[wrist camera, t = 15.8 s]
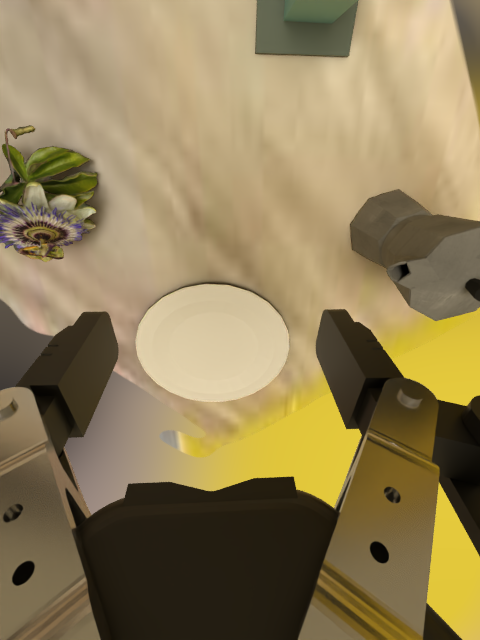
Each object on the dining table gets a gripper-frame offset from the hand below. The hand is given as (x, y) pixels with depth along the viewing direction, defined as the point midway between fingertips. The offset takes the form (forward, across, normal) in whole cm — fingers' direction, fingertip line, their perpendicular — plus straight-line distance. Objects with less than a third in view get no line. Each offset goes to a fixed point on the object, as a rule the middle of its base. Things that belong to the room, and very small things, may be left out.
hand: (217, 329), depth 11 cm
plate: (+29, +2, +24) cm, 38 cm away
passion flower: (+28, +19, +1) cm, 34 cm away
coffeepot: (+28, -22, +4) cm, 36 cm away
